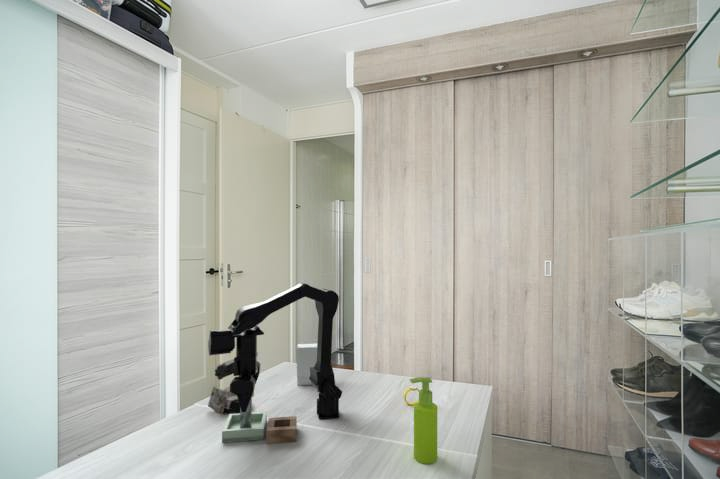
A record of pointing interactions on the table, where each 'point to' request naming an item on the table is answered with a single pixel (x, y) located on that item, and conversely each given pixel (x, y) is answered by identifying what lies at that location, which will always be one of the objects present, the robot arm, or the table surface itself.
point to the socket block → (281, 430)
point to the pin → (246, 416)
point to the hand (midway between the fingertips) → (246, 405)
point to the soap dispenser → (425, 424)
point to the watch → (412, 388)
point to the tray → (236, 433)
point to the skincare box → (305, 362)
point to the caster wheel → (223, 400)
